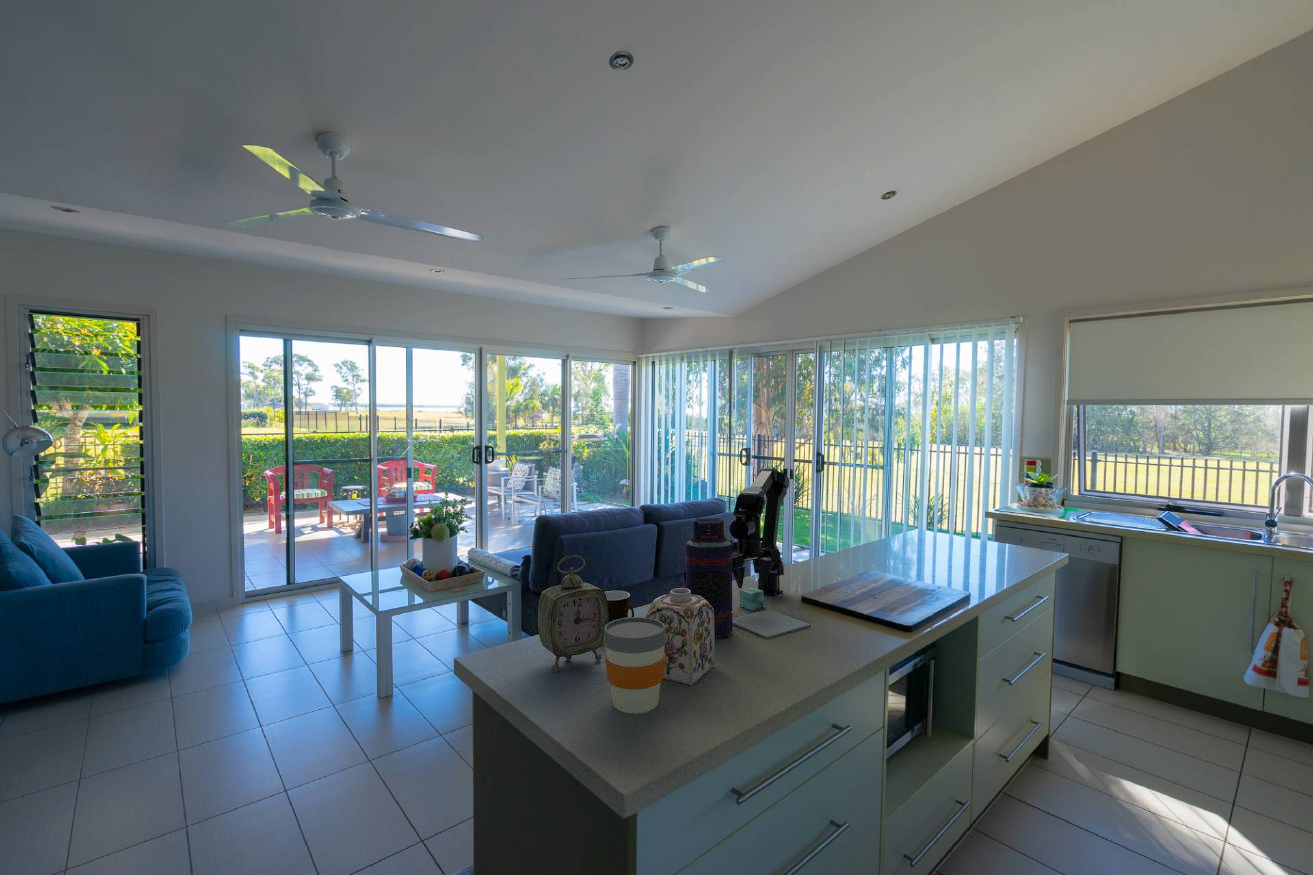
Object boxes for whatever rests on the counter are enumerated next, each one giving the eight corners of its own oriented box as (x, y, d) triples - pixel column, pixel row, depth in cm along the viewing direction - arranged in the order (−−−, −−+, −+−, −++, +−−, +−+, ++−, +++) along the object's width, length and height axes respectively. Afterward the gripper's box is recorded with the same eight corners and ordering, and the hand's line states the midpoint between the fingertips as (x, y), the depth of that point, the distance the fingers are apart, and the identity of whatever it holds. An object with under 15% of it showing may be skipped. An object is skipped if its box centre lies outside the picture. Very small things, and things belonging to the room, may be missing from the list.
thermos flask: (735, 642, 147) (734, 523, 146) (687, 642, 147) (686, 523, 146) (729, 623, 160) (728, 514, 160) (686, 624, 161) (684, 515, 160)
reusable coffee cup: (594, 696, 118) (593, 623, 118) (649, 683, 124) (649, 613, 124) (619, 724, 107) (618, 643, 107) (679, 708, 113) (678, 631, 112)
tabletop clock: (550, 677, 128) (549, 563, 127) (535, 663, 135) (533, 555, 135) (609, 661, 136) (607, 554, 135) (591, 649, 143) (589, 547, 143)
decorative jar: (716, 666, 132) (715, 587, 132) (693, 687, 122) (692, 601, 122) (670, 656, 138) (669, 581, 138) (644, 675, 128) (643, 593, 128)
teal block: (752, 603, 179) (752, 587, 179) (763, 607, 174) (763, 591, 174) (739, 606, 176) (739, 589, 176) (751, 610, 172) (750, 593, 172)
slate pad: (768, 611, 171) (768, 609, 171) (810, 626, 157) (810, 624, 157) (726, 621, 162) (726, 619, 162) (766, 639, 149) (766, 636, 149)
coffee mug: (594, 629, 157) (594, 592, 157) (625, 625, 160) (625, 589, 160) (604, 644, 146) (603, 605, 146) (637, 640, 149) (636, 601, 149)
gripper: (755, 526, 187) (756, 575, 187) (709, 533, 176) (710, 584, 177) (780, 531, 177) (781, 582, 178) (734, 539, 167) (734, 593, 167)
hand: (751, 585), depth 175 cm, fingers open, 9 cm apart
